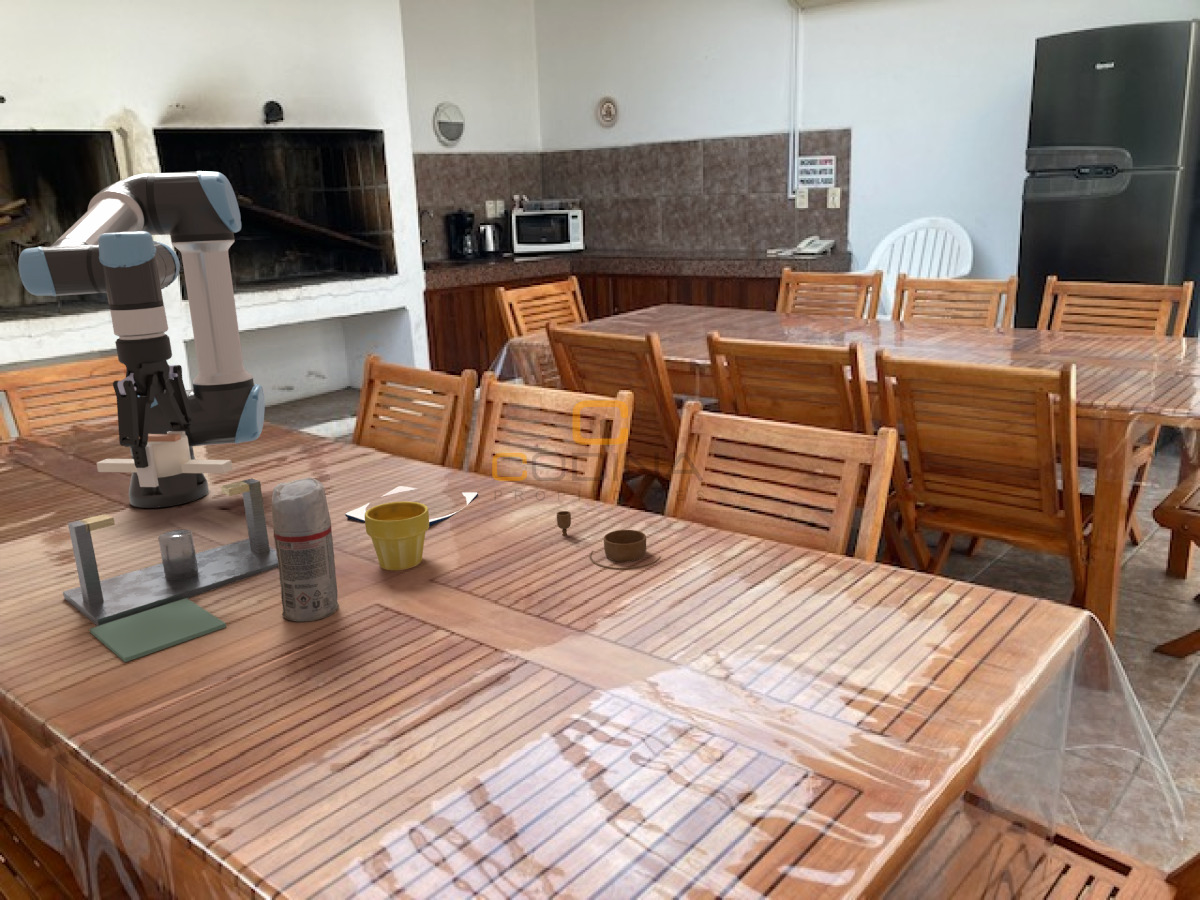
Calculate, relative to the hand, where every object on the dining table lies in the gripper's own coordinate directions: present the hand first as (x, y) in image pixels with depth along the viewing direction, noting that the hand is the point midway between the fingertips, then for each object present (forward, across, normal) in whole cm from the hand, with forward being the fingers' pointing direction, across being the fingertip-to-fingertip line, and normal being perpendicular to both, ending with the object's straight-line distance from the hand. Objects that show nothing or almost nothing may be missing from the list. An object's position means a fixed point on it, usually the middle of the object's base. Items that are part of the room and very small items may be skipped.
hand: (166, 477), depth 149 cm
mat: (+17, +18, +8) cm, 26 cm away
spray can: (+18, +10, +28) cm, 34 cm away
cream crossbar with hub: (-1, 0, 0) cm, 1 cm away
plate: (+19, -35, +27) cm, 48 cm away
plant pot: (+18, -8, +34) cm, 40 cm away
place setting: (+18, -17, +70) cm, 74 cm away
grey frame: (+18, 0, 0) cm, 18 cm away
